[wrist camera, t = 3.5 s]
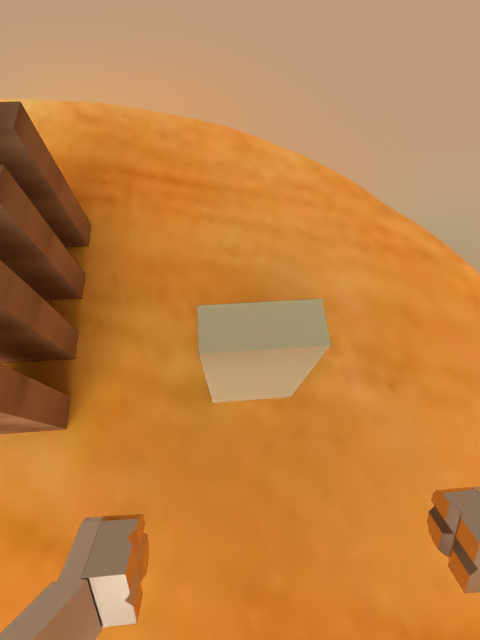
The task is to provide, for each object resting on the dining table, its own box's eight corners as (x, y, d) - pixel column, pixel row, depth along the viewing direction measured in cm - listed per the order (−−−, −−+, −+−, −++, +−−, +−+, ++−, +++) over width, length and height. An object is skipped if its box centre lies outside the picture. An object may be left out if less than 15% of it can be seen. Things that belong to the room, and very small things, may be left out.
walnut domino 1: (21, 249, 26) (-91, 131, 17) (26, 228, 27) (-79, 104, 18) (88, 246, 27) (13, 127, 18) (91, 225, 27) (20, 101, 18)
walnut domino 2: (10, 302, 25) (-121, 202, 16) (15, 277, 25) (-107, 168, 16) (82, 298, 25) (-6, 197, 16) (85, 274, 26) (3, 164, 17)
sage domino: (212, 402, 22) (198, 353, 13) (211, 372, 23) (197, 305, 14) (290, 397, 22) (331, 345, 13) (286, 367, 23) (322, 298, 14)
